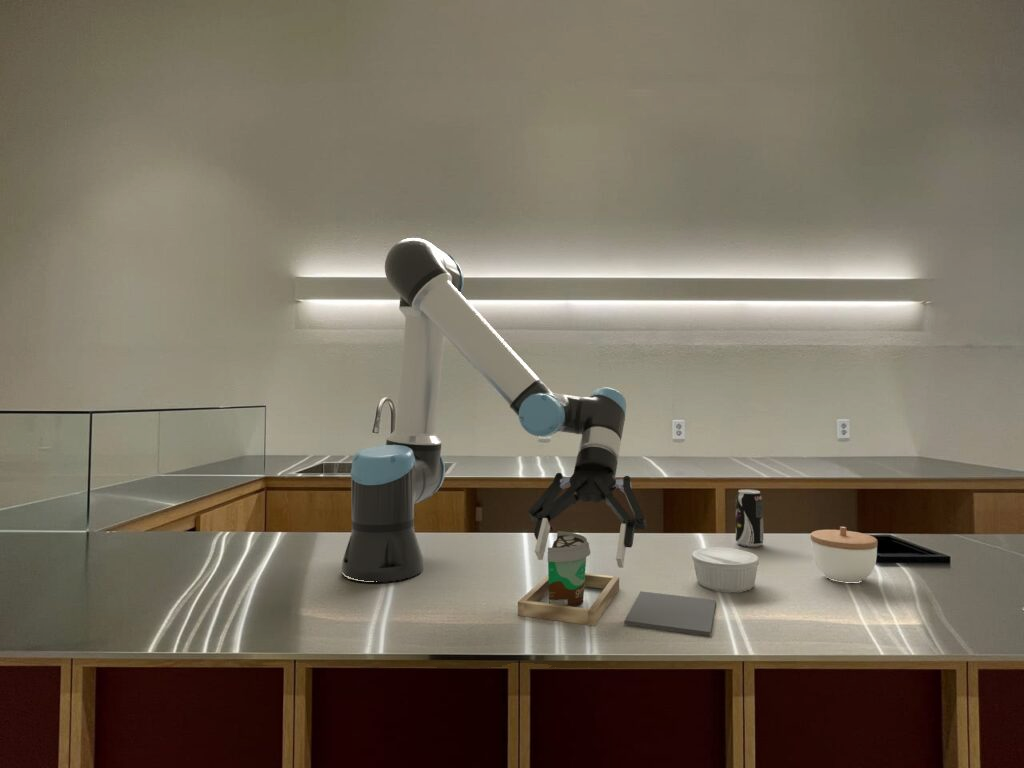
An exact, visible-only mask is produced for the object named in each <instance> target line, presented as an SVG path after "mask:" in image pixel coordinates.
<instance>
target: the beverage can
mask: <svg viewBox="0 0 1024 768" xmlns="http://www.w3.org/2000/svg"><path fill="white" fill-rule="evenodd" d="M737 492H738V493H737V494H736V496H735V502H734V505H735V506H734V507H735V542H736V543H738V544H739V545H740V546H743V547H746V546H747V547H748V548H757V547H758V548H759V547H760V546H761V545H764V498H763V497H762V495H761V491H759V490H757V489H744V488H743V489H739V490H738V491H737ZM747 547H746V548H747Z"/></svg>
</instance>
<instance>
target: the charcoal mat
mask: <svg viewBox="0 0 1024 768" xmlns="http://www.w3.org/2000/svg"><path fill="white" fill-rule="evenodd" d="M716 601H717V600H716V599H710V598H704V597H703V598H702V597H694V596H693V597H692V596H685V595H677V594H676V595H675V594H668V593H658V592H650V591H643V590H642V591H641V590H640V592H639V593H638V595H637V597H636V598H635V601H634V602H633V605H632V606H631V608H630V610H629V612H628V613H627V615H626V617H625V619H624V625H625V626H632V627H639V628H645V629H647V628H648V629H653V630H655V629H656V630H661V631H667V632H668V631H669V632H675V633H684V634H690V635H696V636H697V635H698V636H706V637H711V635H712V629H713V623H714V617H715V611H716V604H717V602H716Z"/></svg>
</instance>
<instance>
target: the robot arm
mask: <svg viewBox="0 0 1024 768" xmlns="http://www.w3.org/2000/svg"><path fill="white" fill-rule="evenodd" d="M384 273H385V277H386V280H387V282H388V283H389V285H390V287H391V288H392V289H393V290H394V291H395V292H396V293H397V294H398V295H399V297H400V298H399V306H398V307H399V308H398V309H399V311H400V312H401V314H402V315H403V316H404V318H405V320H404V321H405V322H404V332H403V339H402V340H403V341H402V343H403V344H402V353H401V362H400V372H399V382H398V383H399V384H398V392H397V393H398V394H397V404H396V416H395V427H394V430H393V431H392V432H391V433H390V434H389V435H388V436H386V442H385V444H383V445H376V446H371V447H366V448H363V449H360V450H358V451H357V452H356V453H355V454H354V455H353V457H352V461H351V469H350V477H351V483H350V484H351V486H350V487H351V488H350V489H351V491H350V492H351V533H350V536H349V539H348V543H347V546H346V548H345V551H344V555H343V559H342V563H341V573H342V572H343V573H344V574H345V575H346V576H349V577H351V578H354V579H358V580H364V581H374V582H376V581H377V582H383V583H388V582H387V581H393V582H396V581H395V580H399V581H402V580H401V579H404V580H406V579H405V578H408V579H411V578H413V577H412V576H414V577H416V576H418V575H420V574H421V573H423V571H424V556H423V553H422V551H421V547H420V544H419V541H418V540H419V539H418V538H417V535H416V531H415V504H417V503H420V502H424V501H426V500H428V499H429V498H431V497H432V496H433V495H434V494H435V493H436V492H438V490H439V489H440V487H441V486H442V484H443V483H444V480H445V477H446V465H445V461H444V459H443V457H442V455H441V451H442V440H441V439H440V438H439V437H438V436H437V434H436V429H437V418H438V410H439V409H438V408H439V399H440V389H441V378H442V367H443V358H444V349H445V348H444V347H445V339H446V338H447V340H448V341H449V342H450V343H451V344H452V345H453V346H454V347H455V348H456V349H457V351H458V352H459V353H460V354H461V355H462V356H463V358H465V359H466V360H467V361H468V363H469V364H470V365H471V366H472V367H473V368H474V369H475V370H476V371H477V372H478V374H480V377H482V378H483V379H484V380H485V382H486V383H488V385H489V386H490V387H491V388H492V389H493V390H494V391H495V392H496V393H497V394H498V395H499V397H500V398H501V399H502V400H503V401H504V402H505V403H506V404H507V405H508V406H509V408H510V409H511V410H512V412H513V413H514V414H516V416H518V420H519V422H520V425H521V427H522V428H523V429H524V431H526V432H527V433H528V434H530V435H532V436H536V437H550V436H552V435H554V434H557V433H558V432H559V433H568V434H575V435H581V438H580V442H579V447H578V453H577V456H576V461H575V463H574V464H575V466H574V469H573V470H574V471H573V474H572V475H571V476H563V474H562V473H561V472H557V473H556V474H555V475H554V479H553V481H552V483H550V485H549V486H548V487H547V489H545V491H544V492H543V493H542V495H540V497H539V498H538V499H537V500H536V501H535V502H534V503H533V505H532V506H531V507H530V508H529V510H528V514H529V516H530V518H531V521H532V522H536V523H535V527H534V532H533V533H534V537H535V540H536V544H535V548H534V553H535V556H536V557H537V560H539V561H543V559H544V555H545V552H546V547H547V542H548V538H549V534H550V531H551V525H550V522H552V521H553V519H555V518H556V517H557V516H559V515H560V514H561V513H563V512H564V511H566V509H568V508H570V507H571V505H576V504H577V503H578V502H580V501H581V502H585V503H586V502H593V503H600V502H602V501H603V502H605V504H606V505H607V506H608V507H609V508H610V509H611V510H612V511H613V513H614V514H615V516H616V517H617V518H618V519H619V521H620V522H621V523H620V528H619V529H620V530H619V535H618V536H619V537H618V542H617V548H616V549H617V550H616V558H615V560H616V563H617V566H618V568H622V569H623V568H624V564H625V556H626V549H627V548H629V549H630V548H631V549H632V547H633V544H634V537H635V531H636V530H646V529H647V524H646V519H645V515H644V513H643V510H642V508H641V507H640V505H639V502H638V500H637V498H636V496H635V493H634V491H633V486H632V481H631V477H630V476H629V475H624V476H623V478H621V479H619V478H618V479H616V475H617V474H616V473H617V469H618V460H619V456H620V450H621V444H622V437H623V431H624V426H625V421H626V412H627V402H626V398H625V396H624V394H622V393H621V392H620V391H618V390H617V389H614V388H612V387H602V388H596V389H595V390H594V391H592V393H591V394H590V396H589V397H588V396H577V395H572V394H571V395H570V394H565V393H564V394H562V393H555V392H552V390H551V389H550V388H549V387H548V386H547V385H546V384H545V383H544V382H543V381H542V380H541V379H540V378H539V376H538V375H536V373H535V372H534V371H533V370H532V369H531V368H530V367H529V365H527V363H526V362H525V361H524V360H523V359H522V358H521V357H520V356H519V355H518V353H516V352H515V350H513V348H512V347H511V346H510V345H509V344H508V343H507V342H506V341H505V340H504V338H502V337H501V335H500V334H499V333H498V332H497V331H496V330H495V329H494V328H493V326H491V324H489V323H488V322H487V320H486V319H485V317H483V316H482V315H481V314H480V313H479V311H477V310H476V308H475V307H474V306H473V305H472V304H471V303H470V302H469V301H468V300H467V299H466V298H465V296H464V295H463V294H462V293H463V290H464V285H465V284H464V283H465V279H464V274H463V270H462V269H461V266H460V264H459V263H458V262H457V261H456V260H455V258H454V257H453V256H451V255H450V254H449V253H447V252H445V251H444V250H441V249H439V248H437V246H435V245H434V244H432V243H431V242H430V241H428V240H425V239H422V238H419V237H416V238H415V237H411V238H409V237H408V238H406V239H402V240H400V241H399V242H396V243H395V244H394V245H393V246H391V249H390V250H389V251H388V253H387V255H386V258H385V261H384ZM568 485H570V486H569V487H568V488H567V489H566V487H567V486H568ZM617 488H619V491H621V492H622V493H623V494H624V495H625V499H626V500H627V503H628V506H629V508H630V510H631V512H632V514H633V516H631V515H630V514H629V513H628V511H627V510H626V509H625V508H624V507H623V505H622V504H621V503H620V501H619V500H618V499H617V497H615V495H614V494H613V492H614V491H615V490H616V489H617ZM565 489H566V490H565ZM563 490H565V492H564V493H562V494H561V492H562V491H563ZM560 494H561V495H560ZM422 570H423V571H422ZM419 573H420V574H419ZM417 574H418V575H417ZM415 575H416V576H415ZM410 577H411V578H410Z"/></svg>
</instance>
